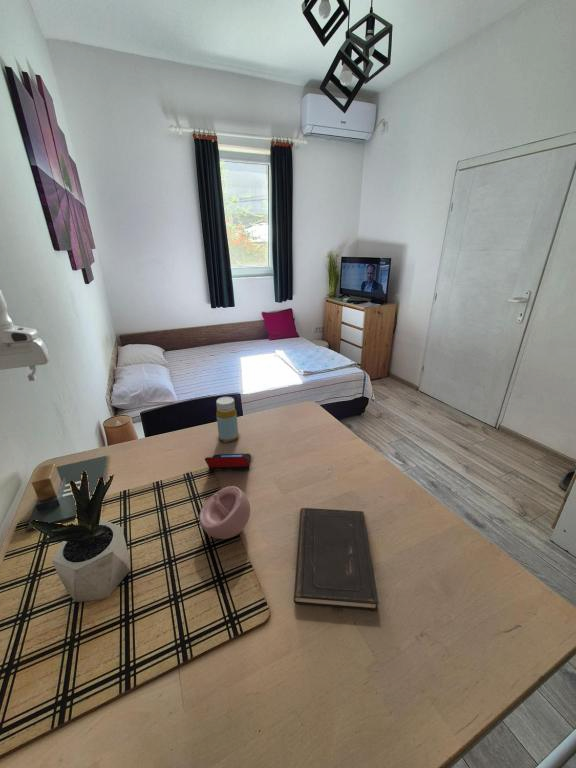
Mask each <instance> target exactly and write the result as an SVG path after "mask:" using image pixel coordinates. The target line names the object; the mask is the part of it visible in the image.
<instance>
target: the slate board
mask: <svg viewBox="0 0 576 768" xmlns="http://www.w3.org/2000/svg"><path fill="white" fill-rule="evenodd" d="M107 461H108V456H107V455H103V456H98V457H95V458H89V459H85V460H80V461H75V462H73V463H72V462H71V463H67V464H63V465H58V466H56V468H57V470H58V473H59V476H60V478H62V477H64V478H65V481H66V485H65V488H64V492H63V495H62V499H61V503H60V505H58V506H54V507H51V508H47V509H43V510H39V511H38V510H37V508H36V506H35V505H34V508H33V511H32V514H31V517H30V520H29V521H28V524H27V528H26V531H27V532H31V531H35V530H36V529H34V528H33V526H32V524H31V522H32V521H33V520H39V521H44V522H48V523H53V525H56V524H59V523H64V522H66V521H70V520H74V519H77V517H76V505H75V500H74V498H73V495H72V492H71V489H70V481H74V482H75V483H76V485H77V487H78V488H80V483H81V475H82V472H83V471H86V473H87V475H88V482H89V492H90V497H91V496H92V494H93V492H94V490H95V487H96V485H97V482H98V479H99V478H100V477H103V478H104V480H105V478H106V468H107V463H108V462H107Z"/></svg>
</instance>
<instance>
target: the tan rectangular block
mask: <svg viewBox="0 0 576 768" xmlns="http://www.w3.org/2000/svg"><path fill="white" fill-rule="evenodd" d="M56 467H57V465H56V463H51V464H47V465H42V466H37V469H36V471H35V473H34V476H33V478H32V481H31V486H32V487H33V489H34V492H35V495H36V497H37V500H36V502H35V505H34V507H35V506H36V508H37V510H38V511H39V510H43V509H47V508H51V507H54V506H58V505H60V503H61V499H62V495H63V492H64V488H65V485H66V481H65V478H64V477H62V478H60V476H59V473H58V470H57V468H56Z"/></svg>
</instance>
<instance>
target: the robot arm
mask: <svg viewBox="0 0 576 768" xmlns="http://www.w3.org/2000/svg"><path fill="white" fill-rule="evenodd" d="M50 360H51V356H50V352H49V350H48V348H47V345H46V344H45V342H44V341H43V340H42V339H41V338H40V337H38V331H37V329H36V328H33V327H27V326H26V327H25V326H20V325H14V323H13V320H12V318H11V317H10V316H9V313H8V305H7V302H6V299H5V296H4V293H3V292H2V289H0V371H3V370H10V369H11V370H13V369H18V368H19V369H20V368H29V370H30V371H31V373H28V375H27V379H28V381H29V382H35V381H37V379H38V378H37V375H36V373H37V370H38V368H39V367H38V366H44V365H47V364H48V363H49V361H50Z"/></svg>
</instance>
